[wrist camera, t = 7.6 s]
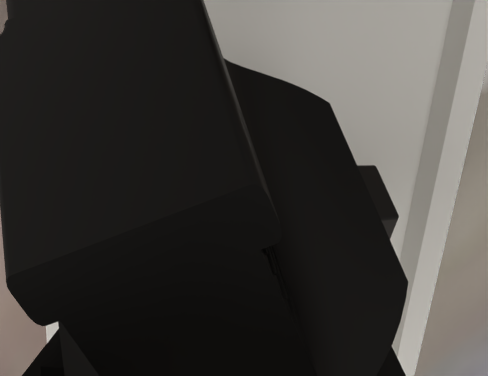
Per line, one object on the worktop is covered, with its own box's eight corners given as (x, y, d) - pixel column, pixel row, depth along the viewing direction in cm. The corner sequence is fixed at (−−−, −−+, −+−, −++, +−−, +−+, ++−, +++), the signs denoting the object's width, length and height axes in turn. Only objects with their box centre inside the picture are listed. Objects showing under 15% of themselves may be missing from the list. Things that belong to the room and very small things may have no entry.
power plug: (173, -358, 7) (609, 458, 3) (265, -16, 14) (424, 359, 10) (-104, -195, 8) (-133, 645, 3) (115, 51, 15) (198, 426, 10)
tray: (47, -239, 16) (10, -293, 14) (515, -203, 16) (561, -251, 14) (70, 338, 23) (48, 369, 21) (392, 368, 23) (407, 403, 21)
